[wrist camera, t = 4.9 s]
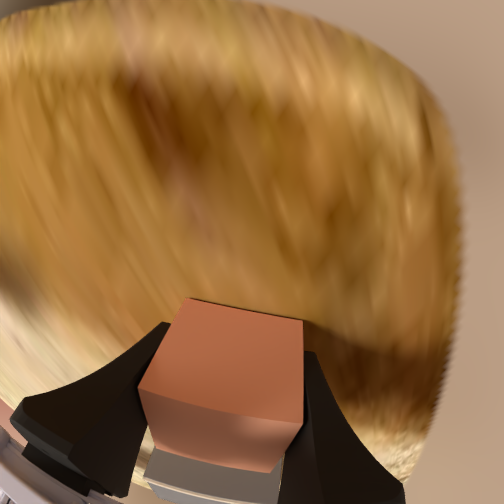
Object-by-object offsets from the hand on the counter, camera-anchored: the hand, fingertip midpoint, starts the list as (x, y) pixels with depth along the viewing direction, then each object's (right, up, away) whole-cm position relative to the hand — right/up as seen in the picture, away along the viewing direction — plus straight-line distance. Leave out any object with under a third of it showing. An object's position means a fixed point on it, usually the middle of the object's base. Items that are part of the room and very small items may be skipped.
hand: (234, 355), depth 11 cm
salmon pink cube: (0, 0, +2) cm, 2 cm away
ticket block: (-2, -13, +8) cm, 15 cm away
